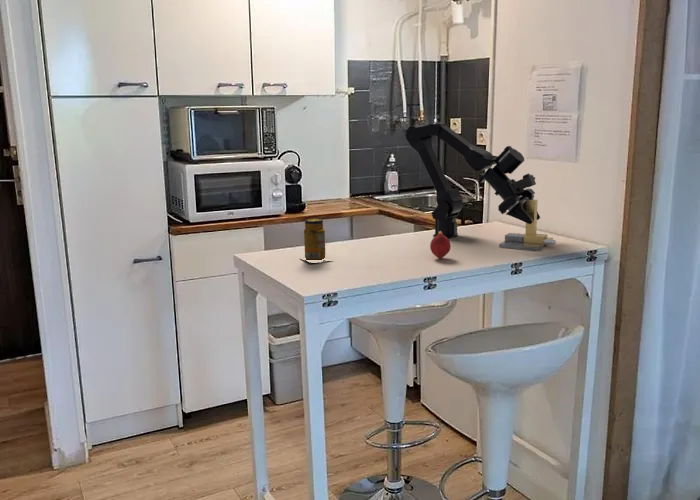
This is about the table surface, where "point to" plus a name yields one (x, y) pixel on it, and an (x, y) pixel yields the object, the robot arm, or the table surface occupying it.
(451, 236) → the robot arm
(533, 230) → the brass block assembly
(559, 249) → the table surface
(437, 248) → the onion
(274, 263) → the table surface
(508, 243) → the fixed leaf
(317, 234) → the condiment
